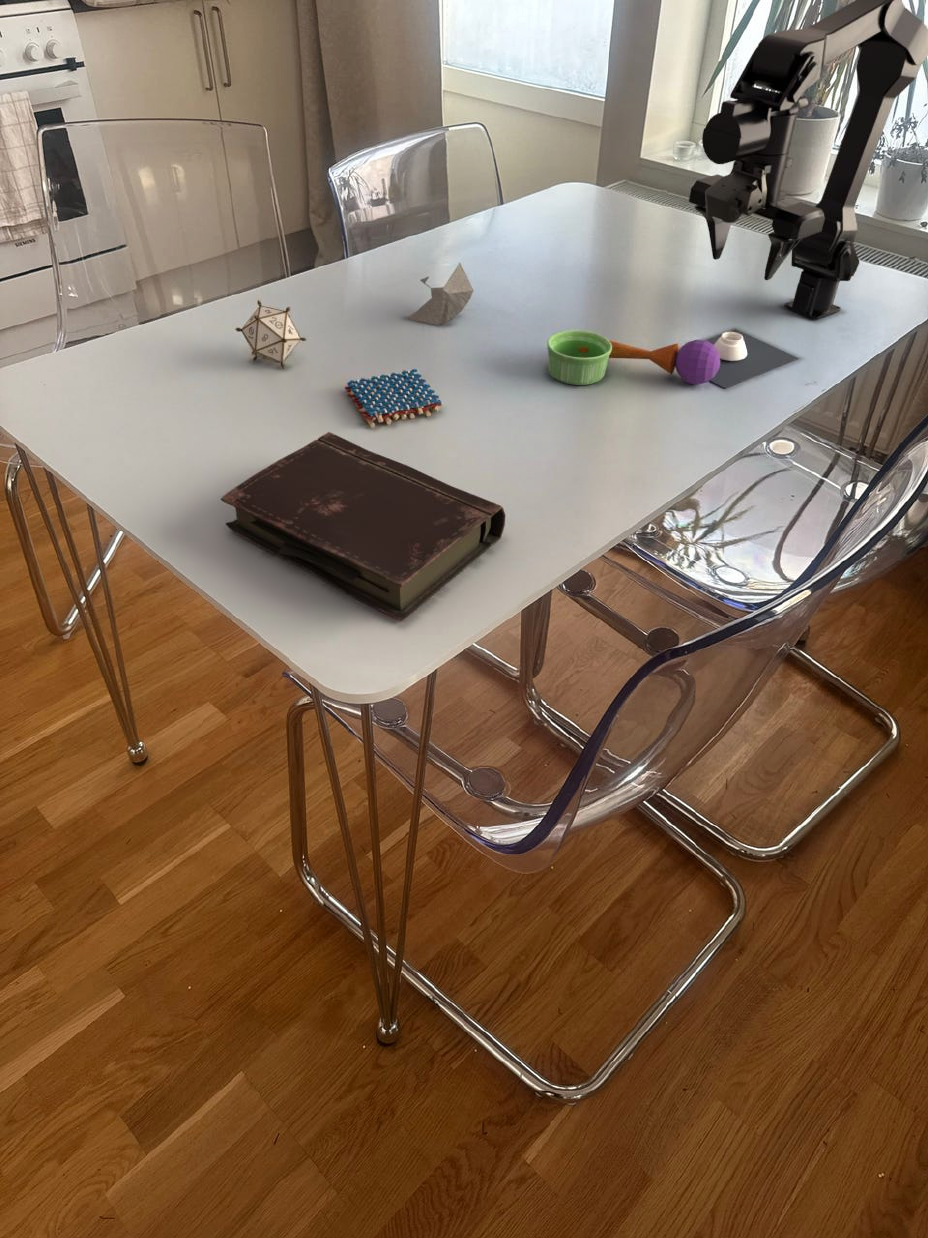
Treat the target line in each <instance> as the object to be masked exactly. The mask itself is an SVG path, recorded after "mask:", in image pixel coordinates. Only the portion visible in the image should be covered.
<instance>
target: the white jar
mask: <svg viewBox="0 0 928 1238" xmlns="http://www.w3.org/2000/svg"><path fill="white" fill-rule="evenodd" d="M721 334H722V335H721ZM721 334H720V335H721V337H720V338H719V339H718V340H717V342H716V343H715V344H714V346H715V347H716V349H717V351H718V352H719V357H720V359H722V360H726V361H737V360H741V359H744V358H745V357H746V356H747V350H746V346H745V342H744V341H743V336H742V335H741V334H738V333H735V332H729V331H725V332H723V333H721Z"/></svg>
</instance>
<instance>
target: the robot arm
mask: <svg viewBox="0 0 928 1238" xmlns="http://www.w3.org/2000/svg"><path fill="white" fill-rule="evenodd" d="M856 47H857V48H858V50H859V53H858V54H859V55H858V58H857V62H856V65H855V70H856V77H857V83H858V84H857V85H858V90H859V91H858V95H857V97H856V101H855V103H854V106H853V109H852V111H851V114H850V117H849V120H848V123H847V126H846V129H845V132H844V134H843V136H842V140H841V143H840V146H839V149H838V151H837V154H836V157H835V160H834V162H833V165H832V168H831V171H830V174H829V176H828V179H827V182H826V184H825V188H824V191H823V194H822V196H821V199H820V201H818V203H816V204H815V205H811V204H808V203H804V202H802V201H800V202H796V203H793V204H790V205H787V206H784V205H781V204H778V203H779V202H780V201H784V200H785V198H786V194H787V190H782V185H783V180H784V176H785V171H786V169H789V168H792V167H793V163H794V158H793V157H790V156H789V154H790V150H791V146H792V140H793V136H794V132H795V127H796V123H797V119H798V114H799V110H802V109H806V108H807V107H808V106H809V101H808V98H807V97H806V96H805V95H804V93H805V92H806V91H807V90H808V89H809V88H810V87H812V86H813V85H814V84H815V83H817V81H818V80H820V79H821V77H822V73H823V68H824V67H825V66H826V65H827V64H829V63H830V62H832V61H833V60H835V59H837V58H839V57H841V56H843V55H844V54H846V53H847V52H849V51H850V50H852V49H854V48H856ZM927 57H928V26H927V25H926V24H925V22H924V21H923V20H922V19H921V18H920V17H918V16H917V15H915V14H914V13H913V12H912V11H911V10H910V9H908V8H906V6H905V4H904V2H903V0H854V1H852V2H850V3H849V4H847V5H844V6H843V7H841V8H839V9H838V10H836V11H834V12H832V13H831V14H828V15H827V16H825V17H824V18H821V19H820V20H818V21H817V22H815V23H813V24H812V25H809V26H808V27H804V28H799V29H798V28H797V29H796V28H795V29H784V30H780V31H776V32H773V33H769V34H767V35H766V36H764V37H763V38H762V39H761V40H760V41H759V43H758V44H757V46H756V47H755V49H754V51H753V52H752V54H751V56H750V58H749V60H748V61H747V63H746V65H745V67H744V69H743V70H742V73H741V74H740V75H739V78H738V80H737V81H736V83H735V85H734V87H733V89H732V91H731V92H730V95H729V97H730V99H729V100H724V101H722V102H721V106H720V112H717V113H715V114H714V115H713V116H711V117H710V119H709V120H708V121H707V123H706V125H705V127H704V128H703V131H702V134H701V135H702V137H701V138H702V139H701V141H702V142H701V143H702V149H703V151H704V154H705V156H706V157H707V159H709V161H711V162H712V163H713V164H716V165H725V164H728V163H729V164H730V163H732V162H733V164H732V169H731V170H730V173H729V174H726V175H724V176H723V175H721V174H714V175H709V176H707V177H703V178H699V179H696V180H695V181H694V182H693V183H692V185H691V186H690V189H689V195H688V203H690V204H693V205H694V209H695V211H697V212H699V214H701V215H702V217H703V218H704V219H705V221H706V226H707V229H708V235H709V241H710V248H711V253H712V259H713V260H715V261H716V260H719V259H720V258H721V256H722V254H723V251H724V249H725V246H726V243H727V240H728V236H729V233H730V229H731V226H732V223H735V222H737V221H738V220H739V219H740V217H742V215H745V216H747V217H750V216H751V215H753V214H754V215H758V216H760V217H763V218H766V219H769V220H771V221H772V222H771V227H772V230H773V232H770V233H768V234H767V236H768V238H769V241H770V247H769V251H768V257H767V261H766V265H765V269H764V278H763V279H764V281H770V280H771V279H772V278H773V277H774V275H775V274H776V273H777V271H779V269H780V267H781V265H782V264H783V263H784V261H785V260H786V258H787V257H788V256H789V254H790V253H791V261H790V262H791V264H790V265H791V267H793V268H797V269H800V270H802V271H801V273H800V276H799V279H798V283H797V284H796V285H797V286H796V288H795V293H794V297H793V299H792V300H789V301H787V302H785V303H784V305H783V307H784V308H786V309H789V310H790V311H793V312H795V313H798V314H800V315H803V316H804V317H807V318H809V319H811V320H814V321H818V320H820V319H823V318H826V317H828V316H831V315H833V314H836V313H838V312H840V311H841V307H840V306H838V305H836V304H834V302H835V299H836V296H837V291H838V288H839V284H840V282H849V281H851V279H852V277H854V276H855V274H856V272H857V269H858V267H859V265H860V259H859V256H858V254H857V251H856V248H855V245H854V243H855V239H856V235H857V233H858V223H857V218H856V217H857V216H856V210H855V207H856V204H857V201H858V198H859V195H860V193H861V190H862V187H863V185H864V182H865V180H866V177H867V174H868V171H869V170H870V166H871V164H872V162H873V158H874V156H875V153H876V151H877V147H878V145H879V143H880V140H881V137H882V134H883V132H884V129H885V126H886V124H887V121H888V118H889V115H890V113H891V111H892V107H893V106H894V103H895V100H896V98H897V97H898V96H899V95H900V94H901V93H902V92H904V90H905V89H907V87H909V86H910V84H912V83H913V82H914V81H915V79H916V78H917V76H918V74H919V72H920V70H921V67H922V65H923V63H924V62H925V61H926V59H927Z"/></svg>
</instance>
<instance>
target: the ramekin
mask: <svg viewBox="0 0 928 1238" xmlns="http://www.w3.org/2000/svg"><path fill="white" fill-rule="evenodd" d="M609 340H610V339H608V338H606V337H605V336H604V335H602V334H598V333H596V332H593V331H590V330H582V329H581V330H580V329H569V330H562V331H558V332H556V333H554V334H552V335H551V336H549V338H548V339H547V341H546V348H547V353H548V354H547V355H548V356H547V360H548V361H547V367H548V368H547V369H548V372H549V374H550V376H551V377H552V378H554V379H555V380H557V381H558V382H561V383H563V384H568V385H574V386H586V385H593V384H595V383H597V382H599V381H601V380H602V379H603V378H604V377H605V375H606V372H607V371H606V370H607V367H608V362H609V359H610V358H609V355H610V353H611V351H612V345H611V343H610V341H611V340H610V341H609ZM581 346H585V347H587V348H589V352H588V353H579V352H578V348H579V347H581Z"/></svg>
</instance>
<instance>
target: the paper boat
mask: <svg viewBox="0 0 928 1238" xmlns="http://www.w3.org/2000/svg"><path fill="white" fill-rule="evenodd" d="M429 278H430V276H426V277H424V278H420V279H419V281H420V282H421V283H423V284H424V285H425V286H427V287H428V288H429V289H430V293H431V298H430V299H429V300H427V301H426V302H425V303H424V304H423V305H422V306H420V307H419V308H418V309H416V311H414V312H413V313H412V314H411V315H410V316H409V317H407V319H408V320H412V321H416V322H421V323H426V324H429V325H435V326H439V327H440V326H442V325H444V324H446V323H448V322H450V321H451V320H453V318H455V317H456V316H459V314H460V313H462V312H463V311H464V309H465V307H466V306H467V304H468V303H469V301H470V299H471V298H472V296H473V293H474V292H475V289H474V287H473V286H472V283H471V281H470V280H469V278H468V275H467V274H466V271H465V270H464V267H463V265H462V263H461V262H459V263H458V264H457V266H456V268H455V269H454V270H453V272H452V274H451V275H450V276H449V278H448V279H447V281H446V283H445V284H444V286H443V287H431V286H429V284H427V281H428V280H429Z"/></svg>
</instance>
